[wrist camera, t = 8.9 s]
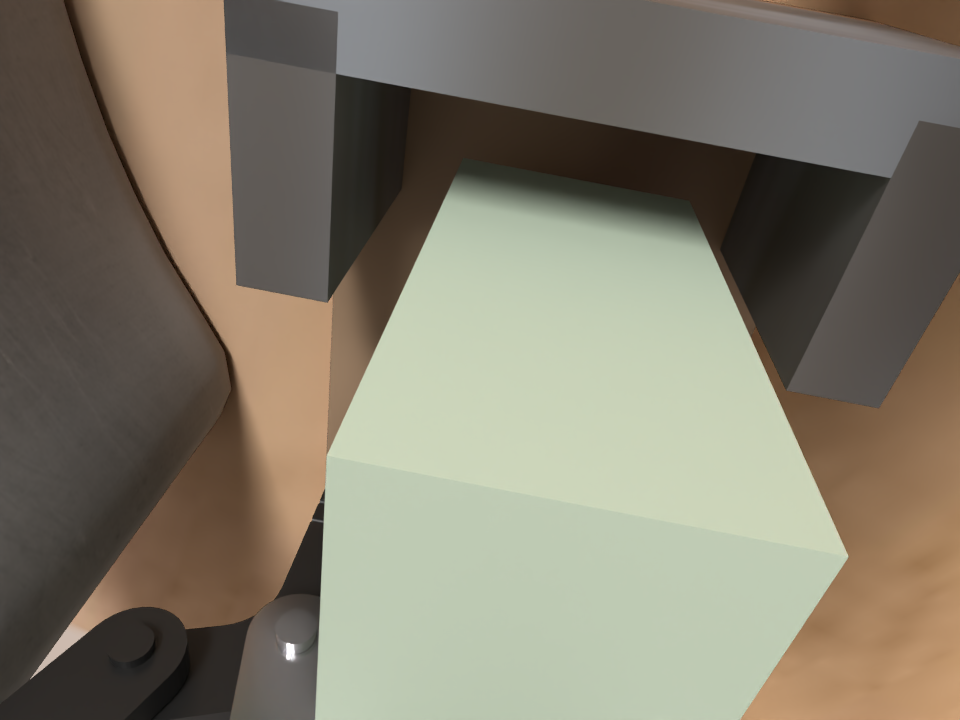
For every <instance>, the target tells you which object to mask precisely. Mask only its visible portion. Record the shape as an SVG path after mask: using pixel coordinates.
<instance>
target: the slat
mask: <svg viewBox="0 0 960 720" xmlns="http://www.w3.org/2000/svg"><path fill="white" fill-rule="evenodd" d="M848 557H849V556H848V554H847V552H846V550H845V547H844V545H843V543H842V541H841V539H840V536H839V534H838V532H837V530H836V527H835V525H834V523H833V521H832V518H831V516H830V514H829V512H828V509H827V507H826V505H825V503H824V501H823V498H822V496H821V494H820V492H819V489H818V487H817V485H816V483H815V480H814V478H813V476H812V474H811V471H810V469H809V467H808V465H807V463H806V460H805V458H804V456H803V454H802V451H801V449H800V447H799V445H798V442H797V440H796V438H795V436H794V433H793V431H792V429H791V427H790V425H789V422H788V420H787V418H786V416H785V413H784V411H783V409H782V407H781V404H780V402H779V400H778V398H777V395H776V393H775V391H774V389H773V387H772V384H771V382H770V380H769V378H768V375H767V373H766V371H765V369H764V366H763V364H762V362H761V360H760V357H759V355H758V353H757V351H756V349H755V346H754V344H753V342H752V340H751V337H750V335H749V333H748V331H747V328H746V326H745V324H744V322H743V319H742V317H741V315H740V313H739V311H738V308H737V306H736V304H735V302H734V299H733V297H732V295H731V293H730V290H729V288H728V286H727V284H726V281H725V279H724V277H723V275H722V273H721V270H720V268H719V266H718V264H717V261H716V259H715V257H714V255H713V252H712V250H711V248H710V246H709V243H708V241H707V239H706V237H705V235H704V232H703V230H702V228H701V226H700V223H699V221H698V219H697V217H696V214H695V212H694V210H693V208H692V205H691V203H690V201H688V200H682V199H677V198H672V197H666V196H661V195H656V194H651V193H645V192H640V191H635V190H630V189H624V188H619V187H614V186H609V185H603V184H598V183H593V182H588V181H582V180H577V179H572V178H567V177H561V176H556V175H551V174H546V173H540V172H535V171H530V170H524V169H519V168H514V167H509V166H503V165H498V164H493V163H488V162H482V161H477V160H472V159H467V158H463V160H462V162H461V164H460V166H459V169H458V171H457V173H456V175H455V177H454V179H453V182H452V184H451V186H450V188H449V190H448V193H447V195H446V197H445V199H444V201H443V203H442V206H441V208H440V210H439V212H438V214H437V217H436V219H435V221H434V223H433V225H432V227H431V230H430V232H429V234H428V236H427V238H426V240H425V243H424V245H423V247H422V249H421V251H420V254H419V256H418V258H417V260H416V262H415V264H414V267H413V269H412V271H411V273H410V275H409V278H408V280H407V282H406V284H405V286H404V288H403V291H402V293H401V295H400V297H399V299H398V302H397V304H396V306H395V308H394V310H393V312H392V315H391V317H390V319H389V321H388V323H387V325H386V328H385V330H384V332H383V334H382V336H381V339H380V341H379V343H378V345H377V347H376V349H375V352H374V354H373V356H372V358H371V360H370V363H369V365H368V367H367V369H366V371H365V373H364V376H363V378H362V380H361V382H360V384H359V387H358V389H357V391H356V393H355V395H354V397H353V400H352V402H351V404H350V406H349V408H348V410H347V413H346V415H345V417H344V419H343V421H342V424H341V426H340V428H339V430H338V432H337V434H336V437H335V439H334V441H333V443H332V445H331V448H330V450H329V452H328V454H327V461H326V484H325V507H324V529H323V552H322V575H321V597H320V620H319V643H318V665H317V688H316V711H315V720H740V719H741V717H742V716H743V714H744V713H745V711H746V710H747V708H748V707H749V705H750V704H751V702H752V701H753V699H754V698H755V696H756V695H757V693H758V692H759V690H760V689H761V687H762V686H763V684H764V683H765V681H766V680H767V678H768V677H769V675H770V674H771V672H772V671H773V670H774V668H775V667H776V665H777V664H778V662H779V661H780V659H781V658H782V656H783V655H784V653H785V652H786V650H787V649H788V647H789V646H790V644H791V643H792V641H793V640H794V638H795V637H796V635H797V634H798V632H799V631H800V629H801V628H802V626H803V625H804V623H805V622H806V620H807V619H808V617H809V616H810V614H811V613H812V611H813V610H814V608H815V607H816V605H817V604H818V602H819V601H820V599H821V598H822V596H823V595H824V593H825V592H826V590H827V589H828V587H829V586H830V584H831V583H832V581H833V580H834V578H835V577H836V575H837V574H838V572H839V571H840V569H841V568H842V566H843V565H844V563H845V562H846V560H847V559H848Z"/></svg>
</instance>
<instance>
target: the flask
mask: <svg viewBox="0 0 960 720" xmlns="http://www.w3.org/2000/svg"><path fill="white" fill-rule="evenodd" d="M230 391H231V385H230V379H229V374H228V369H227V363H226V358H225V352H224V350H223V348H222V347H221V345H220V343H219V342H218V340H217V338H216V337H215V335H214V333H213V332H212V330H211V328H210V327H209V325H208V323H207V322H206V320H205V318H204V317H203V315H202V313H201V312H200V310H199V308H198V307H197V305H196V303H195V302H194V300H193V298H192V297H191V295H190V294H189V292H188V290H187V289H186V287H185V286H184V284H183V282H182V281H181V279H180V277H179V276H178V274H177V273H176V271H175V269H174V268H173V266H172V264H171V263H170V261H169V260H168V258H167V256H166V255H165V253H164V251H163V249H162V247H161V245H160V243H159V241H158V239H157V237H156V235H155V233H154V231H153V229H152V227H151V225H150V223H149V221H148V219H147V217H146V215H145V213H144V211H143V209H142V207H141V205H140V203H139V201H138V199H137V197H136V195H135V193H134V191H133V189H132V186H131V184H130V182H129V180H128V177H127V175H126V173H125V170H124V168H123V166H122V164H121V161H120V159H119V157H118V154H117V152H116V150H115V147H114V145H113V143H112V141H111V138H110V136H109V134H108V131H107V129H106V126H105V123H104V120H103V118H102V115H101V112H100V109H99V107H98V104H97V101H96V98H95V96H94V93H93V90H92V87H91V85H90V82H89V79H88V76H87V74H86V71H85V68H84V65H83V63H82V60H81V56H80V53H79V50H78V47H77V43H76V40H75V37H74V34H73V30H72V27H71V24H70V21H69V17H68V14H67V11H66V8H65V4H64V1H63V0H0V704H1V703H2V702H3V701H4V700H6V699H7V698H8V697H9V696H11V695H12V694H13V693H14V692H15V691H17V690H18V689H19V688H20V687H22V686H23V685H24V684H25V683H27V682H28V681H29V680H30V678H31V677H32V676H33V674H34V673H35V672H36V670H37V669H38V667H39V666H40V665H41V663H42V662H43V660H44V659H45V658H46V656H47V655H48V654H49V652H50V651H51V649H52V648H53V647H54V645H55V644H56V642H57V641H58V640H59V638H60V637H61V635H62V634H63V633H64V631H65V630H66V629H67V627H68V626H69V624H70V623H71V622H72V620H73V619H74V618H75V616H76V615H77V613H78V612H79V611H80V609H81V608H82V606H83V605H84V604H85V602H86V601H87V600H88V598H89V597H90V595H91V594H92V593H93V591H94V590H95V589H96V587H97V586H98V584H99V583H100V582H101V580H102V579H103V577H104V576H105V575H106V573H107V572H108V571H109V569H110V568H111V566H112V565H113V564H114V562H115V561H116V559H117V558H118V557H119V555H120V554H121V553H122V551H123V550H124V548H125V547H126V546H127V544H128V543H129V541H130V540H131V539H132V537H133V536H134V535H135V533H136V532H137V530H138V529H139V528H140V526H141V525H142V523H143V522H144V521H145V519H146V518H147V517H148V515H149V514H150V512H151V511H152V510H153V508H154V507H155V505H156V504H157V503H158V501H159V500H160V499H161V497H162V496H163V494H164V493H165V492H166V490H167V489H168V488H169V486H170V485H171V483H172V482H173V481H174V479H175V478H176V476H177V475H178V474H179V472H180V471H181V470H182V468H183V467H184V465H185V464H186V463H187V461H188V460H189V458H190V457H191V456H192V454H193V453H194V452H195V450H196V449H197V447H198V446H199V445H200V443H201V442H202V440H203V439H204V438H205V436H206V435H207V434H208V432H209V431H210V429H211V428H212V427H213V425H214V424H215V422H216V421H217V420H218V418H219V417H220V415H221V413H222V410H223V408H224V405H225V403H226V400H227V398H228V396H229V393H230Z"/></svg>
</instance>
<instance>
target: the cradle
mask: <svg viewBox="0 0 960 720" xmlns="http://www.w3.org/2000/svg"><path fill="white" fill-rule="evenodd" d="M224 16H225V38H226V60H227V83H228V105H229V128H230V150H231V172H232V195H233V217H234V239H235V262H236V284H237V285H239V286H244V287H249V288H254V289H259V290H265V291H270V292H275V293H280V294H285V295H291V296H296V297H301V298H306V299H312V300H317V301H322V302H327V303H328V301H329V299H330V298H331V296H332V295H333V315H332V338H331V362H330V386H329V410H328V433H327V454H328V452H329V450H330V448H331V445H332V443H333V441H334V439H335V437H336V434H337V432H338V430H339V428H340V426H341V424H342V421H343V419H344V417H345V415H346V413H347V410H348V408H349V406H350V404H351V402H352V400H353V397H354V395H355V393H356V391H357V389H358V387H359V384H360V382H361V380H362V378H363V376H364V373H365V371H366V369H367V367H368V365H369V363H370V360H371V358H372V356H373V354H374V352H375V349H376V347H377V345H378V343H379V341H380V339H381V336H382V334H383V332H384V330H385V328H386V325H387V323H388V321H389V319H390V317H391V315H392V312H393V310H394V308H395V306H396V304H397V302H398V299H399V297H400V295H401V293H402V291H403V288H404V286H405V284H406V282H407V280H408V278H409V275H410V273H411V271H412V269H413V267H414V264H415V262H416V260H417V258H418V256H419V254H420V251H421V249H422V247H423V245H424V243H425V240H426V238H427V236H428V234H429V232H430V230H431V227H432V225H433V223H434V221H435V219H436V217H437V214H438V212H439V210H440V208H441V206H442V203H443V201H444V199H445V197H446V195H447V193H448V190H449V188H450V186H451V184H452V182H453V179H454V177H455V175H456V173H457V171H458V169H459V166H460V164H461V162H462V160H463V158H467V159H472V160H477V161H482V162H488V163H493V164H498V165H503V166H509V167H514V168H519V169H524V170H530V171H535V172H540V173H546V174H551V175H556V176H561V177H567V178H572V179H577V180H582V181H588V182H593V183H598V184H603V185H609V186H614V187H619V188H624V189H630V190H635V191H640V192H645V193H651V194H656V195H661V196H666V197H672V198H677V199H682V200H688V201H690V203H691V205H692V208H693V210H694V212H695V214H696V217H697V219H698V221H699V223H700V226H701V228H702V230H703V232H704V235H705V237H706V239H707V241H708V243H709V246H710V248H711V250H712V252H713V255H714V257H715V259H716V261H717V264H718V266H719V268H720V270H721V273H722V275H723V277H724V279H725V281H726V284H727V286H728V288H729V290H730V293H731V295H732V297H733V299H734V302H735V304H736V306H737V308H738V311H739V313H740V315H741V317H742V319H743V322H744V324H745V326H746V328H747V331H748V333H749V335H750V337H751V336H752V334H753V332H754V329H755V327H757V329H758V332H759V334H760V336H761V338H762V340H763V342H764V344H765V346H766V349H767V351H768V353H769V355H770V357H771V359H772V361H773V363H774V365H775V368H776V370H777V372H778V374H779V376H780V378H781V380H782V382H783V385H784V387H785V389H786V391H791V392H796V393H802V394H807V395H812V396H817V397H823V398H828V399H833V400H838V401H843V402H849V403H854V404H859V405H864V406H870V407H875V408H879V407H880V406H881V404H882V402H883V401H884V399H885V397H886V396H887V394H888V392H889V390H890V389H891V387H892V385H893V384H894V382H895V380H896V379H897V377H898V375H899V374H900V372H901V370H902V369H903V367H904V365H905V364H906V362H907V360H908V359H909V357H910V355H911V353H912V352H913V350H914V348H915V347H916V345H917V343H918V342H919V340H920V338H921V337H922V335H923V333H924V332H925V330H926V328H927V327H928V325H929V323H930V321H931V320H932V318H933V316H934V315H935V313H936V311H937V310H938V308H939V306H940V305H941V303H942V301H943V300H944V298H945V296H946V295H947V293H948V291H949V290H950V288H951V286H952V284H953V283H954V281H955V279H956V278H957V276H958V274H959V273H960V46H956V45H953V44H949V43H946V42H943V41H939V40H936V39H932V38H929V37H926V36H922V35H919V34H915V33H912V32H909V31H905V30H902V29H898V28H895V27H892V26H888V25H885V24H882V23H878V22H875V21H871V20H865V19H860V18H855V17H849V16H844V15H838V14H833V13H828V12H822V11H817V10H812V9H806V8H801V7H795V6H790V5H785V4H779V3H774V2H768V1H763V0H224ZM326 461H327V457H326ZM325 484H326V481H325Z"/></svg>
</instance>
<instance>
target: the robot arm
mask: <svg viewBox="0 0 960 720" xmlns="http://www.w3.org/2000/svg"><path fill="white" fill-rule="evenodd" d="M324 507H325V490H324V492H323V494H322V497H321V499H320V503H319V504H318V506H317V508H316V511H315V513H314V515H313V518H312V522H310V524H309V527H308V529H307V531H306V534H305V536H304V538H303V540H302V543H301V545H300V547H299V550H298V552H297V554H296V557H295V559H294V561H293V563H292V566H291V568H290V570H289V573H288V575H287V577H286V580H285V582H284V584H283V586H282V588H281V590H280V592H279V594H278V595H277V597H276V598H275V599H274V601H272V602H270V603H269V604H267V605H266V606H264V607H263V608H262V609H261V610H260V611H259V612H258V613H257V614H256V615H255V616H253V617H251V618H249V619H246V620H244V621H241V622H238V623H235V624H230V625H224V626H214V627H205V628H195V629H186V630H185V628H184V625H183V624H182V622H181V621H180V620H179V618H177V617H176V616H175V615H174V614H172V613H170V612H168V611H166V610H163V609H160V608H154V607H139V608H132V609H129V610H125V611H122V612H119V613H117V614H115V615H113V616H111V617H109V618H107V619H105V620H104V621H102V622H101V623H100V624H98V625H97V626H96V627H94V628H93V629H92V630H91V631H89V632H88V633H87V634H86V635H85V636H83V637H82V638H81V639H80V640H78V641H77V642H76V643H75V644H73V645H72V646H71V647H70V648H68V649H67V650H66V651H65V652H64V653H63V654H61V655H60V656H59V657H57V658H56V659H55V660H54V661H53V662H51V663H50V664H49V665H48V666H46V667H45V668H44V669H43V670H42V671H40V672H39V673H38V674H36V675H35V676H34V677H33V678H32V679H30V680H29V681H28V682H27V683H25V684H24V685H23V686H22V687H20V688H19V689H18V690H17V691H15V692H14V693H13V694H12V695H11V696H9V697H8V698H7V699H6V700H4V701H3V702H2V703H1V704H0V720H315V711H316V688H317V665H318V643H319V620H320V597H321V575H322V552H323V529H324Z"/></svg>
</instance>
